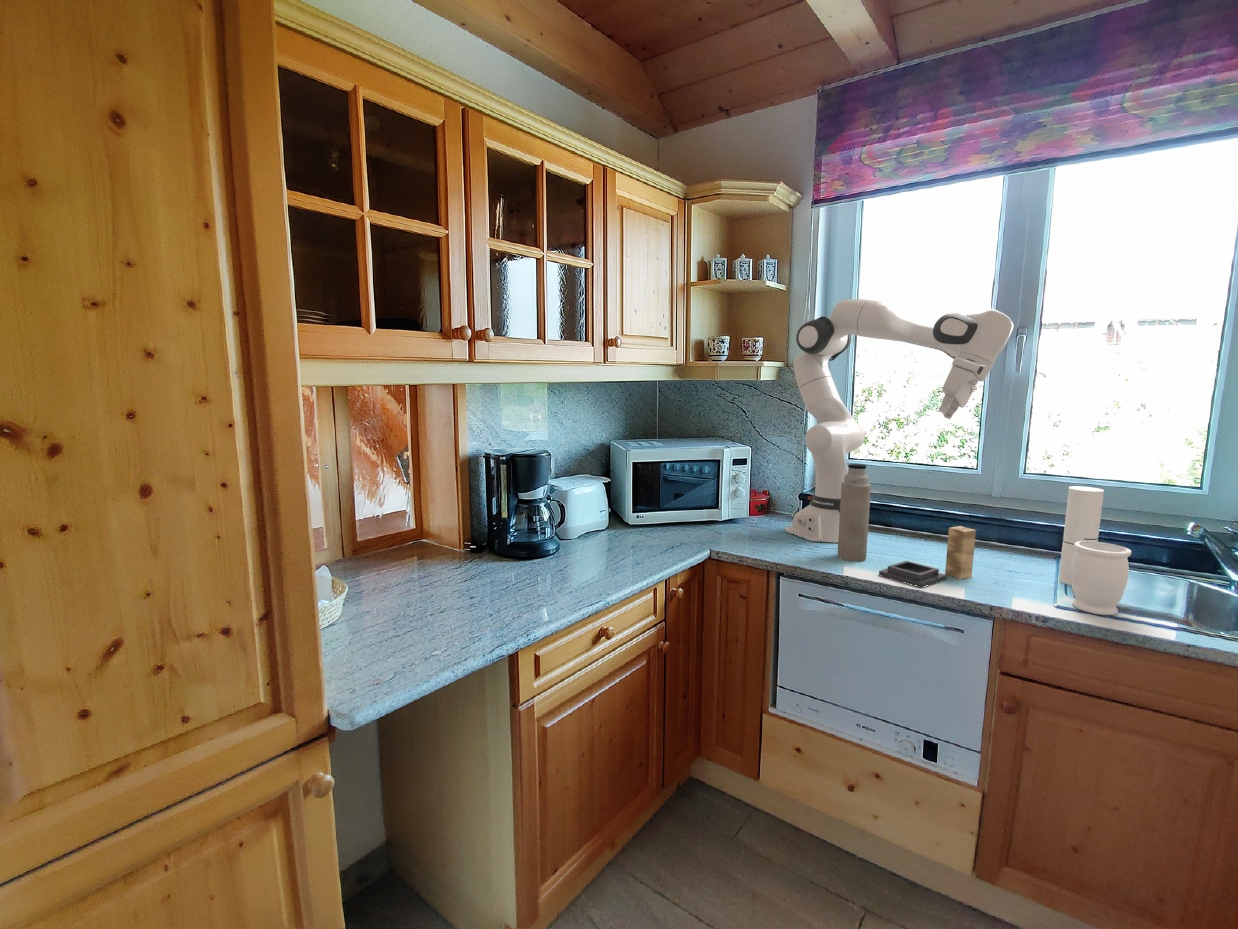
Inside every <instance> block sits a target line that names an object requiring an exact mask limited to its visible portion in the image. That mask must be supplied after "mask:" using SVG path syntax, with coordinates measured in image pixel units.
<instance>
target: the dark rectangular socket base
mask: <svg viewBox="0 0 1238 929" xmlns="http://www.w3.org/2000/svg"><path fill="white" fill-rule="evenodd" d="M939 571H940V569H939V568H935V567H932V566H927V565H925V564H921V563H917V562H913V561H909V560H904V561H901V562H897V563H894V564H890V565H888V566H887V568H884V569H881V570H878V576H880V575H881V576H880V577H884V578H887V579H890V578H892V579H891V580H893V579H894V580H893V581H896V580H897V582H900V583H903V582H906V583H905V584H907V583H909V584H908V585H910V584H912V585H911V586H913V585H917V586H920V587H924V586H926V585H929V586H931V584H932V585H934V583H935V584H937V583H936V582H938V583H940V581H941V582H943V580H944V581H946V580H945V579H947V578H948V575H946V574H945V573H941V572H939ZM917 586H916V587H917ZM920 587H919V588H920ZM926 587H927V586H926ZM924 588H925V587H924Z"/></svg>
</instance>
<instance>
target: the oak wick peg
mask: <svg viewBox="0 0 1238 929" xmlns="http://www.w3.org/2000/svg"><path fill="white" fill-rule="evenodd" d="M976 532H977V530H976V529H973V528H970V527H966V526H961V525H959V526H952V527H948V535H947V544H946V545H947V548H946V560H945V571H944V572H945V573H944V574H945V575H947V576H949V575H951V576H950V577H952V576H953V577H952V578H955V577H956V578H955V579H958V578H964V579H968V578H972V575H973V565H974V555H975V543H976Z"/></svg>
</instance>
